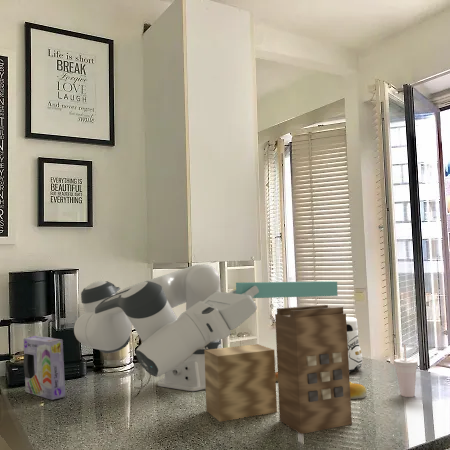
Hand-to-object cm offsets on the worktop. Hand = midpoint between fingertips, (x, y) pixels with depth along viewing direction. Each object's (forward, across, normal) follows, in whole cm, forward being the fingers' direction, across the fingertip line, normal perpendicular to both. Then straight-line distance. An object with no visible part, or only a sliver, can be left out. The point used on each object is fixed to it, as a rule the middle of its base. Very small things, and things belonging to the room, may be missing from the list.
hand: (251, 287), depth 111 cm
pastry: (+10, -40, -44) cm, 61 cm away
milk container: (+29, -43, -55) cm, 76 cm away
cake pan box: (-55, -62, -7) cm, 83 cm away
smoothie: (+28, -7, -54) cm, 61 cm away
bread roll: (+16, -15, -48) cm, 53 cm away
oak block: (-14, -17, -30) cm, 37 cm away
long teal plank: (+7, 0, -7) cm, 10 cm away
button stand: (-3, 0, -37) cm, 37 cm away
